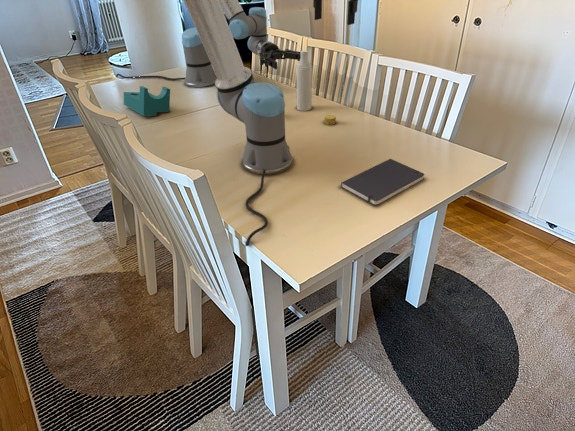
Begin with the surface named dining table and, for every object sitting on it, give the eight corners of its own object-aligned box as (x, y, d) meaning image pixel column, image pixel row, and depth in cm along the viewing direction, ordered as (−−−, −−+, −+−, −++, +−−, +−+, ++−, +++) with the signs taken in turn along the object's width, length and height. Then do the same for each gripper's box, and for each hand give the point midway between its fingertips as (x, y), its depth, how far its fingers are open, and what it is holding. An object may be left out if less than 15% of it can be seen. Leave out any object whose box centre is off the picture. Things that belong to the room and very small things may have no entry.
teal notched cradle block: (169, 115, 164) (170, 89, 159) (143, 115, 156) (144, 88, 152) (148, 104, 174) (148, 79, 170) (123, 104, 167) (123, 78, 163)
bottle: (311, 105, 166) (312, 49, 153) (311, 110, 161) (311, 53, 148) (297, 105, 166) (296, 49, 153) (296, 110, 161) (295, 53, 148)
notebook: (389, 163, 124) (340, 187, 113) (390, 158, 123) (341, 182, 112) (424, 178, 116) (375, 206, 105) (425, 174, 115) (376, 201, 104)
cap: (322, 123, 150) (322, 117, 149) (328, 119, 153) (328, 113, 152) (331, 125, 148) (331, 119, 147) (337, 122, 151) (337, 116, 149)
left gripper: (293, 56, 184) (317, 68, 169) (242, 63, 175) (263, 77, 160) (293, 38, 180) (318, 49, 165) (241, 45, 170) (263, 57, 155)
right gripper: (380, -59, 113) (372, 24, 125) (313, -59, 127) (312, 15, 140) (364, -57, 109) (358, 28, 121) (297, -58, 123) (297, 18, 135)
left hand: (291, 63), depth 162 cm, fingers open, 13 cm apart
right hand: (333, 21), depth 130 cm, fingers open, 13 cm apart
